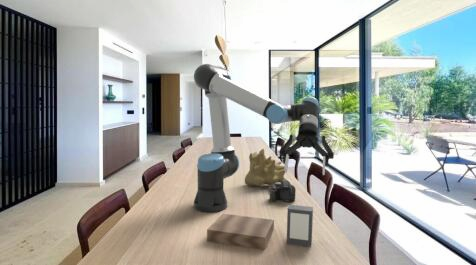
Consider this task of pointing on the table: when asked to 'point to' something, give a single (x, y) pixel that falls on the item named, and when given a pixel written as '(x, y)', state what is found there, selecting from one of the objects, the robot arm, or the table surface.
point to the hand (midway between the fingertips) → (304, 171)
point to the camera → (282, 191)
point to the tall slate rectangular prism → (299, 225)
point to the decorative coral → (264, 170)
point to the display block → (241, 231)
